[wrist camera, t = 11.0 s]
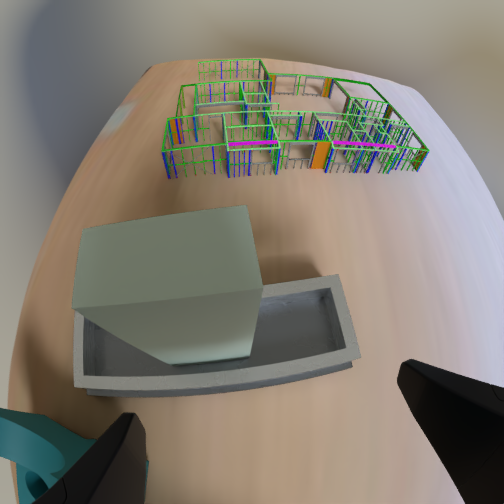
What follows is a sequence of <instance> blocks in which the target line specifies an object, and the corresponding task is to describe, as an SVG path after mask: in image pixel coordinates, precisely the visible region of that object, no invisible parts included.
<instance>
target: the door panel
mask: <svg viewBox="0 0 504 504" xmlns="http://www.w3.org/2000/svg"><path fill="white" fill-rule="evenodd" d="M262 292H263V283H262V278H261V273H260V268H259V263H258V258H257V253H256V248H255V243H254V238H253V233H252V228H251V223H250V218H249V213H248V209H247V205H241V206H232V207H223V208H215V209H207V210H199V211H192V212H184V213H177V214H170V215H163V216H156V217H150V218H143V219H137V220H131V221H125V222H119V223H113V224H107V225H102V226H96V227H91V228H86V229H83V231H82V236H81V241H80V247H79V252H78V259H77V265H76V272H75V280H74V288H73V298H72V309H74V310H75V311H77V312H78V313H80V314H81V315H83V316H84V317H86V318H87V319H89V320H90V321H92V322H93V323H95V324H97V325H98V326H100V327H101V328H103V329H105V330H106V331H108V332H110V333H111V334H113V335H115V336H116V337H118V338H120V339H122V340H123V341H125V342H127V343H129V344H130V345H132V346H134V347H136V348H138V349H140V350H142V351H143V352H145V353H147V354H149V355H151V356H153V357H155V358H157V359H159V360H161V361H163V362H165V363H167V364H169V365H171V366H180V365H192V364H202V363H212V362H220V361H228V360H235V359H243V358H249V357H250V352H251V347H252V343H253V338H254V333H255V328H256V323H257V318H258V313H259V308H260V303H261V298H262Z"/></svg>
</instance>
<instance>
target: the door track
mask: <svg viewBox="0 0 504 504" xmlns="http://www.w3.org/2000/svg"><path fill="white" fill-rule="evenodd" d="M359 358H361V354H360V350H359V346H358V342H357V338H356V335H355V331H354V327H353V323H352V319H351V316H350V312H349V309H348V305H347V302H346V298H345V295H344V291H343V288H342V285H341V281H340V278H339V275H338V274H336V275H330V276H323V277H317V278H310V279H304V280H297V281H290V282H283V283H276V284H269V285H263V292H262V298H261V303H260V308H259V313H258V318H257V323H256V328H255V333H254V338H253V343H252V347H251V352H250V357H249V358H243V359H235V360H228V361H220V362H212V363H202V364H192V365H180V366H171V365H169V364H167V363H165V362H163V361H161V360H159V359H157V358H155V357H153V356H151V355H149V354H147V353H145V352H143V351H142V350H140V349H138V348H136V347H134V346H132V345H130V344H129V343H127V342H125V341H123V340H122V339H120V338H118V337H116V336H115V335H113V334H111V333H110V332H108V331H106V330H105V329H103V328H101V327H100V326H98V325H97V324H95V323H93V322H92V321H90V320H89V319H87V318H86V317H84V316H83V315H81V314H80V313H78V312H77V311H75V319H74V342H73V369H74V387H77V388H83V389H87V395H94V396H110V397H177V396H194V395H207V394H217V393H227V392H235V391H243V390H250V389H256V388H263V387H269V386H274V385H280V384H285V383H290V382H295V381H300V380H305V379H309V378H314V377H318V376H322V375H326V374H330V373H334V372H338V371H341V370H345V369H348V368H351V367H353V366H352V362H351V361H354V360H356V359H359Z"/></svg>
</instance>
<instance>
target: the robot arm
mask: <svg viewBox="0 0 504 504" xmlns="http://www.w3.org/2000/svg"><path fill="white" fill-rule="evenodd" d="M397 384H398V386H399V388H400V390H401V392H402V394H403V396H404V398H405V400H406V402H407V404H408V406H409V408H410V411H411V412H412V414H413V416H414V418H415V419H416V421H417V423H418V424H419V426H420V427H421V429H422V430H423V432H424V434H425V435H426V437H427V438H428V440H429V442H430V443H431V445H432V447H433V448H434V450H435V451H436V453H437V455H438V456H439V458H440V460H441V461H442V463H443V465H444V467H445V468H446V470H447V472H448V473H449V475H450V477H451V479H452V480H453V482H454V484H455V486H456V487H457V489H458V491H459V493H460V495H461V497H462V498H463V500H464V502H465V504H504V388H503V387H499V386H496V385H492V384H491V385H490V384H489V383H485V382H482V381H478V380H475V379H472V378H469V377H465V376H462V375H459V374H456V373H453V372H450V371H447V370H444V369H441V368H438V367H435V366H432V365H429V364H426V363H423V362H420V361H417V360H414V359H409V360H407V361H404V362H402V364H401V366H400V370H399V373H398V377H397ZM145 484H146V433H145V429H144V427H143V425H142V423H141V421H140V420H139V418H138V416H137V415H136V414H135V413H123V414H121V416H120V417H119V418H118V419H117V420H116V421H115V422H114V423H113V424H112V425H111V426H110V427H109V428H108V429H107V430H106V431H105V432H104V433H103V435H102V436H101V437H100V438H99V439H98V440H97V441H96V442H95V443H94V444H93V445H92V446H91V447H90V448H89V449H88V450H87V451H86V452H85V453H84V454H83V455H82V456H81V457H80V458H79V459H78V460H77V462H76V463H75V464H74V465H73V466H72V467H71V468H70V469H69V470H68V471H67V472H66V473H65V474H64V475H63V477H61V478H60V479H59V480H58V481H57V482H56V483H55V484H54V485H53V486H52V487H51V488H50V489H48V490H47V491H46V492H45V493H44V494H43V495H41V496H40V497H39V498H38V499H36V500H35V501H34V502H32V503H31V504H144V498H145Z"/></svg>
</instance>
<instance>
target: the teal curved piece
mask: <svg viewBox="0 0 504 504" xmlns="http://www.w3.org/2000/svg"><path fill="white" fill-rule="evenodd" d="M96 441H97V440H96V439H84V438H82V437H81V436H79V435H77V434H75V433H73V432H72V431H70V430H68V429H66V428H65V427H63V426H61V425H60V424H58V423H56V422H55V421H53V420H52V419H50V418H48V417H47V416H45V415H40V414H32V413H25V412H19V411H13V410H8V409H3V408H0V457H4V458H6V459H9V460H11V461H13V462H16V469H17V485H18V496H19V504H31V503H32V502H34V501H35V500H36V499H38V498H39V497H40V496H41V495H43V494H44V493H45V492H46V491H47V490H48V489H50V488H51V487H52V486H53V485H54V484H55V483H56V482H57V481H58V480H59V479H60V478H61V477H63V475H64V474H65V473H66V472H67V471H68V470H69V469H70V468H71V467H72V466H73V465H74V464H75V463H76V462H77V460H78V459H79V458H80V457H81V456H82V455H83V454H84V453H85V452H86V451H87V450H88V449H89V448H90V447H91V446H92V445H93V444H94V443H95V442H96ZM148 464H149V461H148V460H146V481H147V472H148ZM145 491H146V484H145ZM144 501H145V498H144Z"/></svg>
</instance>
